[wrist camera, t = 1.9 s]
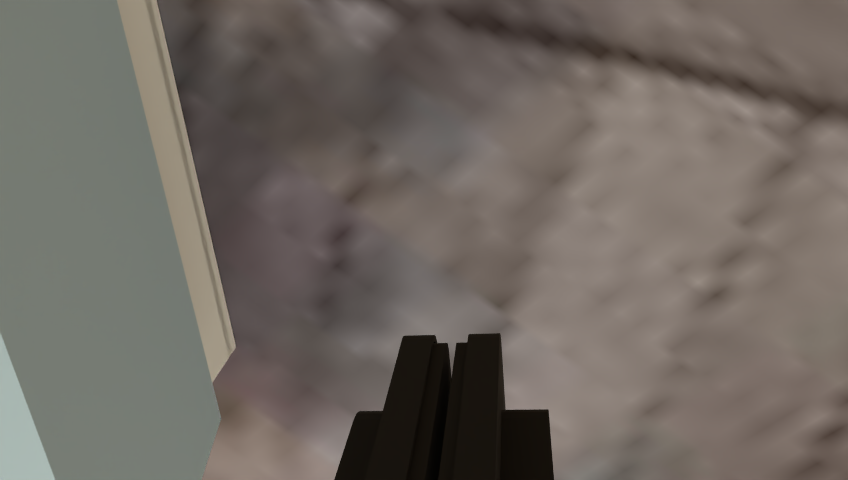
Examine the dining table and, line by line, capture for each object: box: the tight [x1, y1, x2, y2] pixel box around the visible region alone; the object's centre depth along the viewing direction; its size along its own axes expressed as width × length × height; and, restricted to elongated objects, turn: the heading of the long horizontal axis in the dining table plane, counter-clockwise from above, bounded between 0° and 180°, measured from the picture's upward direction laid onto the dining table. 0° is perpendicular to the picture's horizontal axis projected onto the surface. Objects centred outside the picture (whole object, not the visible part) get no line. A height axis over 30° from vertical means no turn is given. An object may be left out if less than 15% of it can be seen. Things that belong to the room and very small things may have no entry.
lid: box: [0, 0, 221, 480], centre depth 21 cm, size 20×12×1 cm
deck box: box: [117, 0, 236, 382], centre depth 30 cm, size 20×13×6 cm, turn 6°
